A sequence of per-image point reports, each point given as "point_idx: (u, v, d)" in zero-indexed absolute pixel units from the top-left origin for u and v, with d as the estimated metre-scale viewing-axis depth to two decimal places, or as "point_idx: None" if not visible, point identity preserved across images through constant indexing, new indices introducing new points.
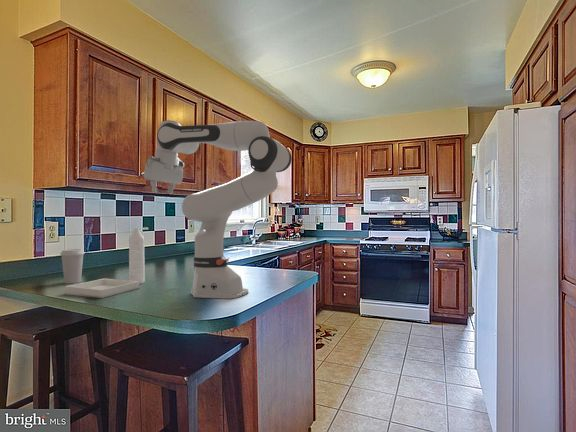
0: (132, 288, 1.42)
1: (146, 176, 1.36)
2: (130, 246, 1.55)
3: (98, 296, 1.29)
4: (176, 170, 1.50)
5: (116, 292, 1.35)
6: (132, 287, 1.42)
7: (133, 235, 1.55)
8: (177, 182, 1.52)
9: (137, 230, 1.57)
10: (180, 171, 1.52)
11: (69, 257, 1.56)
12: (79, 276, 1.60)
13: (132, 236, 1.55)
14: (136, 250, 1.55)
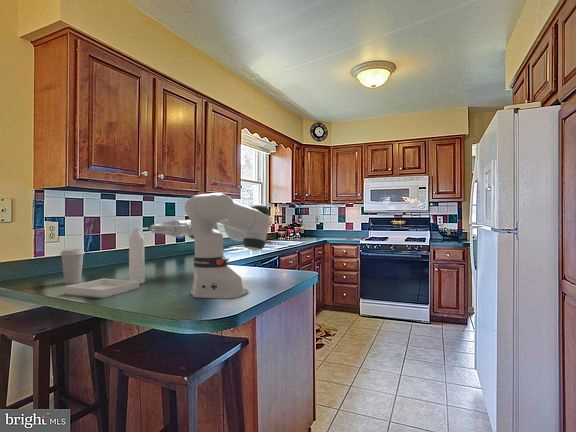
0: (132, 288, 1.42)
1: (182, 229, 1.71)
2: (130, 246, 1.55)
3: (98, 296, 1.29)
4: None
5: (116, 292, 1.35)
6: (132, 287, 1.42)
7: (133, 235, 1.55)
8: (155, 232, 1.77)
9: (137, 230, 1.57)
10: (161, 232, 1.82)
11: (69, 257, 1.56)
12: (79, 276, 1.60)
13: (132, 236, 1.55)
14: (136, 250, 1.55)
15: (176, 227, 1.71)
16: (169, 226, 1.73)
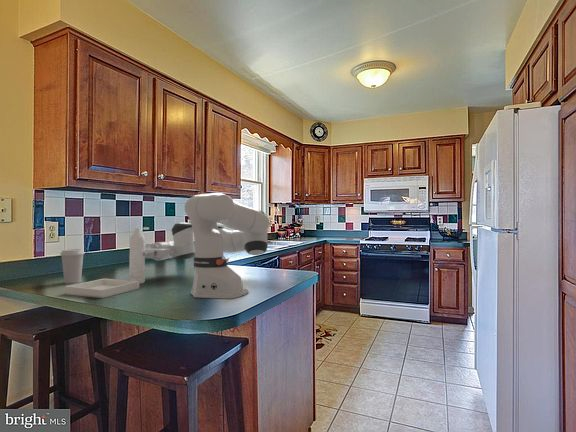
0: (132, 288, 1.42)
1: (164, 253, 1.59)
2: (131, 246, 1.55)
3: (98, 296, 1.29)
4: None
5: (116, 292, 1.35)
6: (132, 287, 1.42)
7: (134, 235, 1.55)
8: None
9: (138, 230, 1.56)
10: None
11: (69, 257, 1.56)
12: (79, 276, 1.60)
13: (133, 236, 1.55)
14: (137, 250, 1.54)
15: (157, 251, 1.59)
16: (150, 250, 1.61)
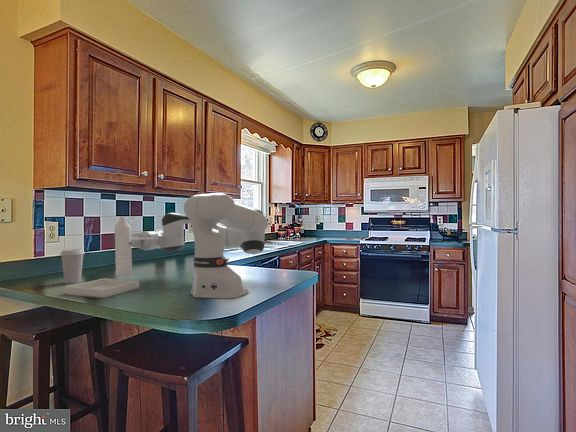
0: (132, 288, 1.42)
1: (151, 242, 1.53)
2: (116, 236, 1.49)
3: (98, 296, 1.29)
4: (133, 245, 1.63)
5: (116, 292, 1.35)
6: (132, 287, 1.42)
7: (119, 224, 1.49)
8: None
9: (123, 219, 1.50)
10: None
11: (69, 257, 1.56)
12: (79, 276, 1.60)
13: (118, 225, 1.49)
14: (122, 240, 1.49)
15: (144, 240, 1.53)
16: (136, 239, 1.55)
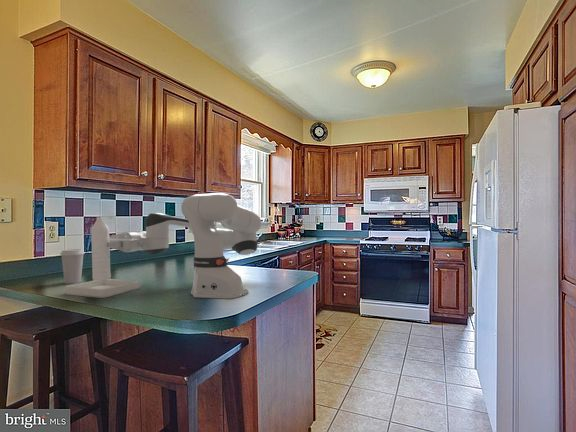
0: (132, 288, 1.42)
1: (131, 243, 1.42)
2: (92, 237, 1.37)
3: (98, 296, 1.29)
4: None
5: (116, 292, 1.35)
6: (132, 287, 1.42)
7: (95, 225, 1.37)
8: None
9: (100, 219, 1.39)
10: None
11: (69, 257, 1.56)
12: (79, 276, 1.60)
13: (94, 226, 1.37)
14: (99, 242, 1.37)
15: (123, 241, 1.42)
16: (115, 240, 1.43)
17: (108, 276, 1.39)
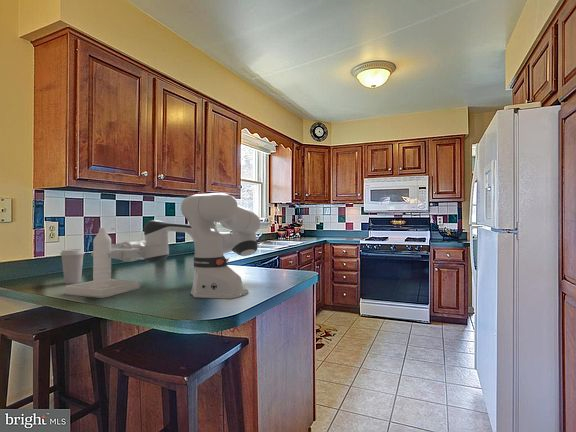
0: (132, 288, 1.42)
1: (131, 254, 1.42)
2: (94, 248, 1.38)
3: (98, 296, 1.29)
4: None
5: (116, 292, 1.35)
6: (132, 287, 1.42)
7: (98, 236, 1.38)
8: None
9: (103, 230, 1.40)
10: None
11: (69, 257, 1.56)
12: (79, 276, 1.60)
13: (97, 237, 1.38)
14: (101, 253, 1.37)
15: (123, 252, 1.42)
16: (115, 250, 1.43)
17: (108, 287, 1.40)
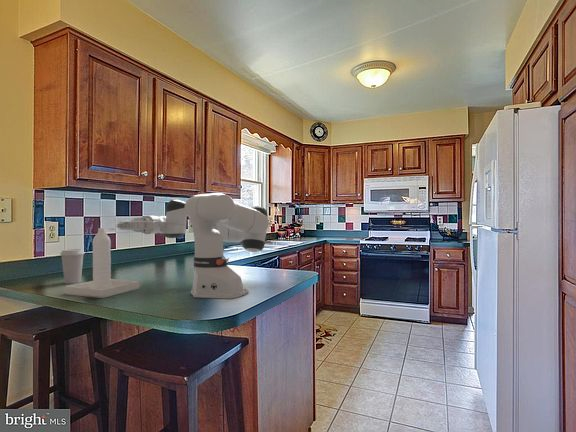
0: (132, 288, 1.42)
1: (153, 225, 1.54)
2: (94, 249, 1.38)
3: (98, 296, 1.29)
4: (135, 229, 1.64)
5: (116, 292, 1.35)
6: (132, 287, 1.42)
7: (97, 236, 1.38)
8: (124, 229, 1.60)
9: (102, 231, 1.39)
10: (131, 229, 1.65)
11: (69, 257, 1.56)
12: (79, 276, 1.60)
13: (96, 238, 1.38)
14: (100, 253, 1.37)
15: (146, 223, 1.54)
16: (139, 222, 1.55)
17: (108, 287, 1.40)
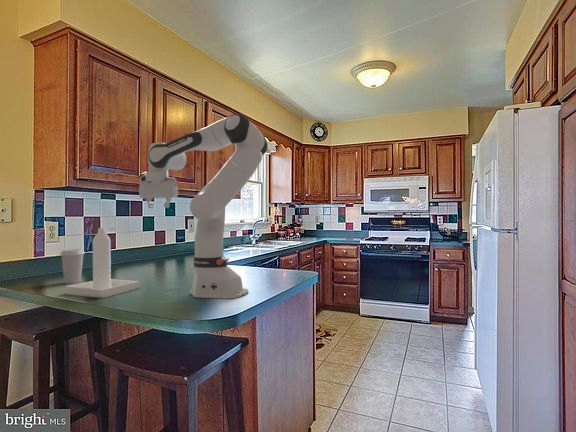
0: (132, 288, 1.42)
1: (175, 194, 1.58)
2: (94, 249, 1.38)
3: (98, 296, 1.29)
4: None
5: (116, 292, 1.35)
6: (132, 287, 1.42)
7: (97, 236, 1.38)
8: None
9: (102, 231, 1.39)
10: None
11: (69, 257, 1.56)
12: (79, 276, 1.60)
13: (96, 238, 1.38)
14: (100, 253, 1.37)
15: (169, 197, 1.58)
16: (161, 197, 1.59)
17: (108, 287, 1.40)
